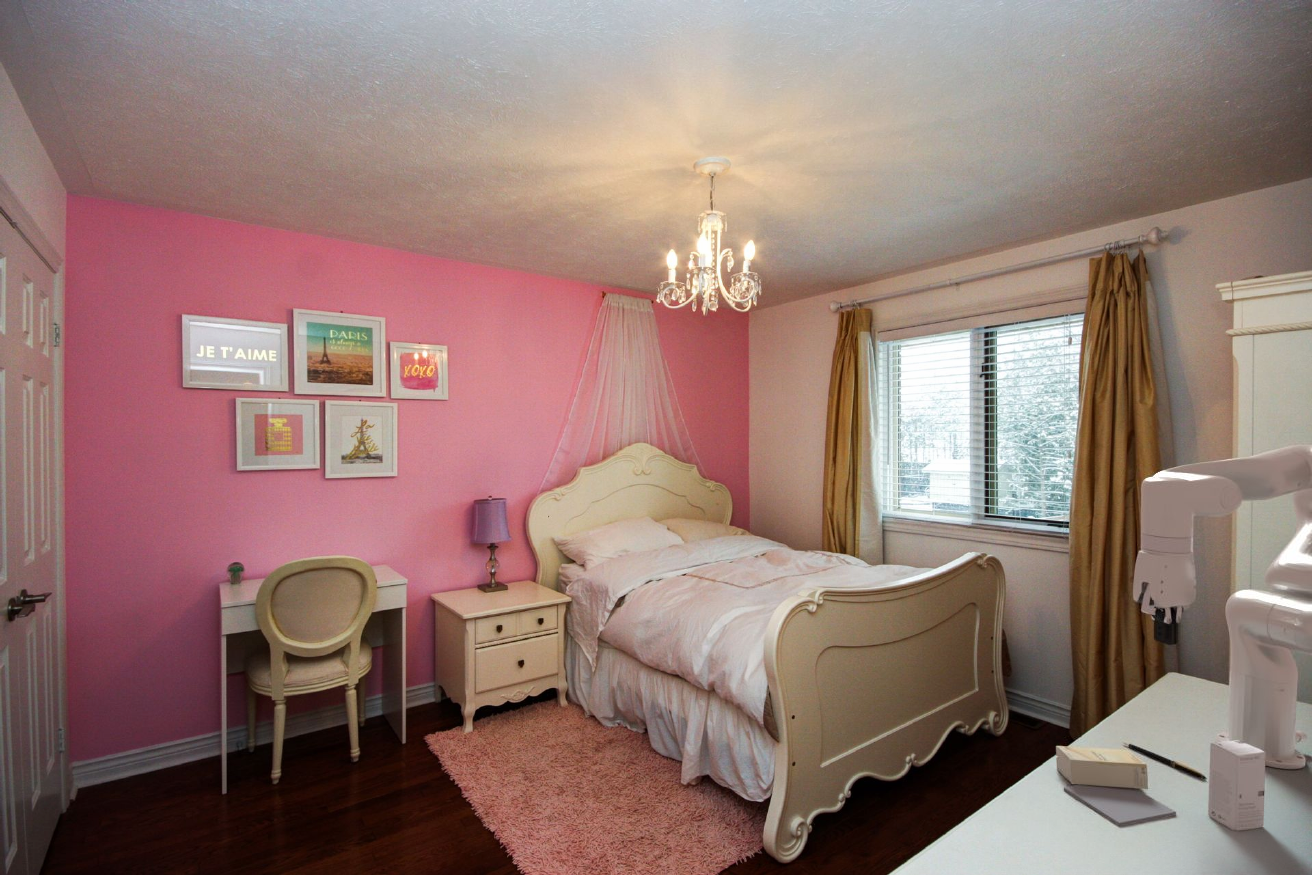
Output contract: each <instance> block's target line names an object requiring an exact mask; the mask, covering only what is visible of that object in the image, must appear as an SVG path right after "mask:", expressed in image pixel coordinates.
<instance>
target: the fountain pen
mask: <svg viewBox="0 0 1312 875" xmlns="http://www.w3.org/2000/svg"><path fill="white" fill-rule="evenodd" d="M1121 743H1122V744H1124V746H1128V748H1129V749H1132V750H1134V751H1135V752H1138V753H1140V754H1142V755H1145V756H1147V757H1149V758H1151V759H1153V760H1156V761H1158V762H1159V763H1163V764H1165V765H1168V766H1169V767H1171V768H1173V769H1175V770H1178V771H1180V772H1183V773H1185V774H1186V775H1189V776H1193V777H1196V778H1197V779H1201V780H1207V779H1208V778H1207V776H1205V774H1203V773H1202V772H1200V771H1198V770H1196V769H1194V768H1192V767H1189V766H1187V765H1185V764H1183V763H1180V762H1178V761H1175V760H1173V759H1172V760H1171V759H1169V758H1167V757H1166V756H1165V757H1164V756H1162V755H1160V754H1157V753H1155V752H1152V751H1149V750H1147V749H1145V748H1142V747H1139V746H1138V745H1135V744H1132V743H1129V744H1128V743H1127V742H1124V741H1121Z"/></svg>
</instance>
